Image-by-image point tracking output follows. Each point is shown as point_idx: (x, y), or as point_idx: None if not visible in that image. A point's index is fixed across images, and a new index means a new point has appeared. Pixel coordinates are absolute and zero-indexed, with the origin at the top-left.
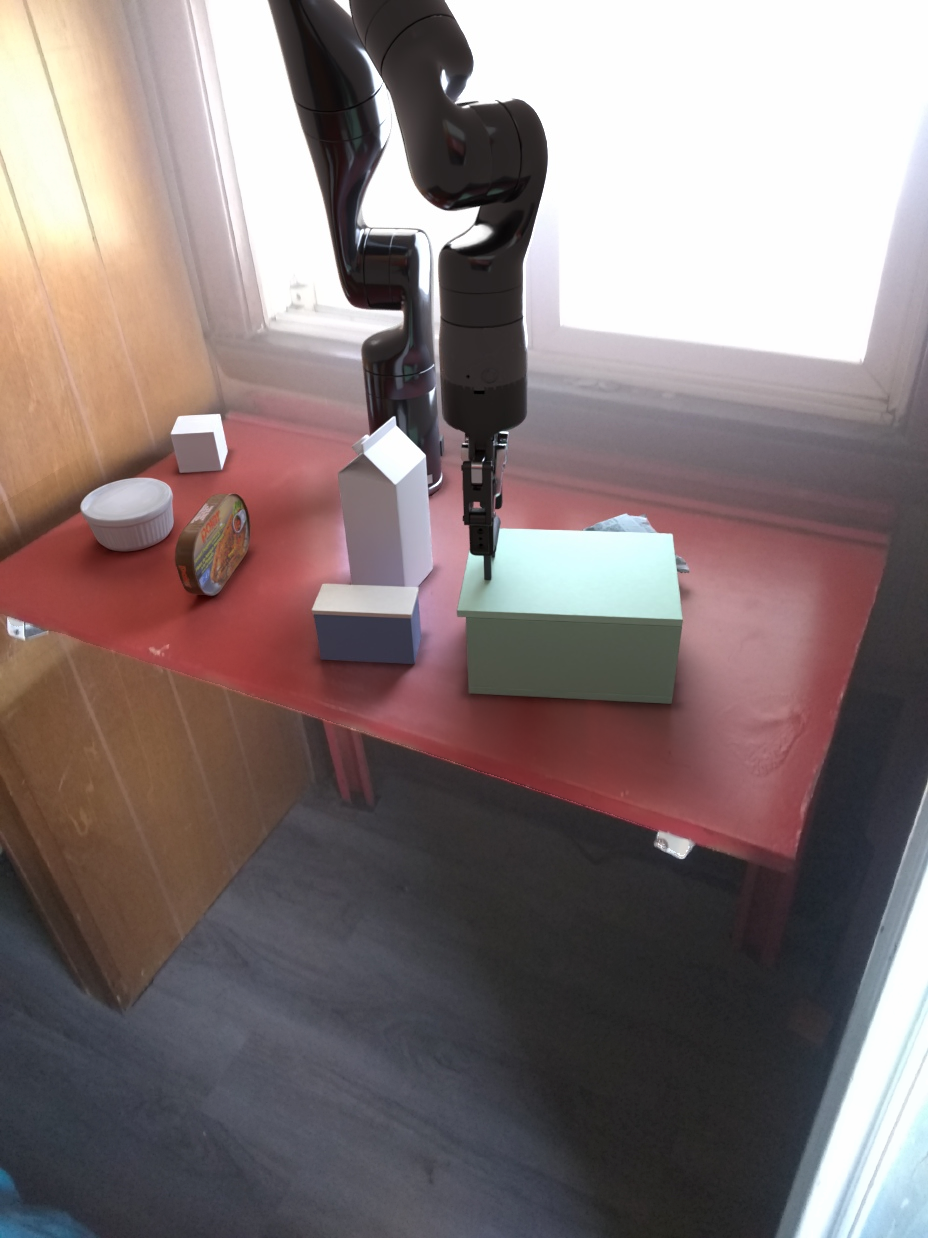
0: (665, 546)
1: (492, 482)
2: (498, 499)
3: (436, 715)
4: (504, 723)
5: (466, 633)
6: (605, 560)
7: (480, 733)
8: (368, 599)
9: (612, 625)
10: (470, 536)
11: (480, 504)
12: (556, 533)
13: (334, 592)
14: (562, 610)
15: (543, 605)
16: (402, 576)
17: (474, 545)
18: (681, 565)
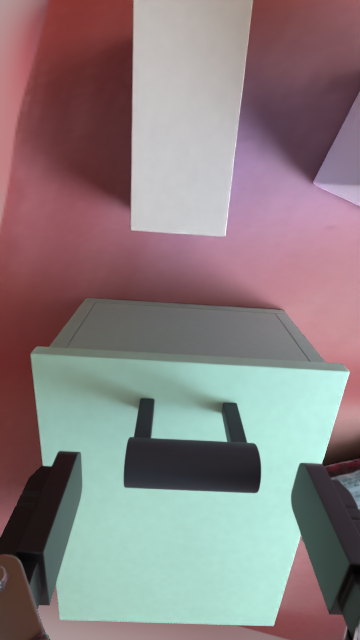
0: (238, 618)
1: (326, 566)
2: (300, 521)
3: (36, 257)
4: (37, 341)
5: (51, 343)
6: (205, 558)
7: (13, 314)
8: (181, 125)
9: None
10: (38, 497)
11: (305, 468)
12: None
13: (212, 21)
14: None
15: None
16: (334, 182)
17: (23, 492)
18: None
